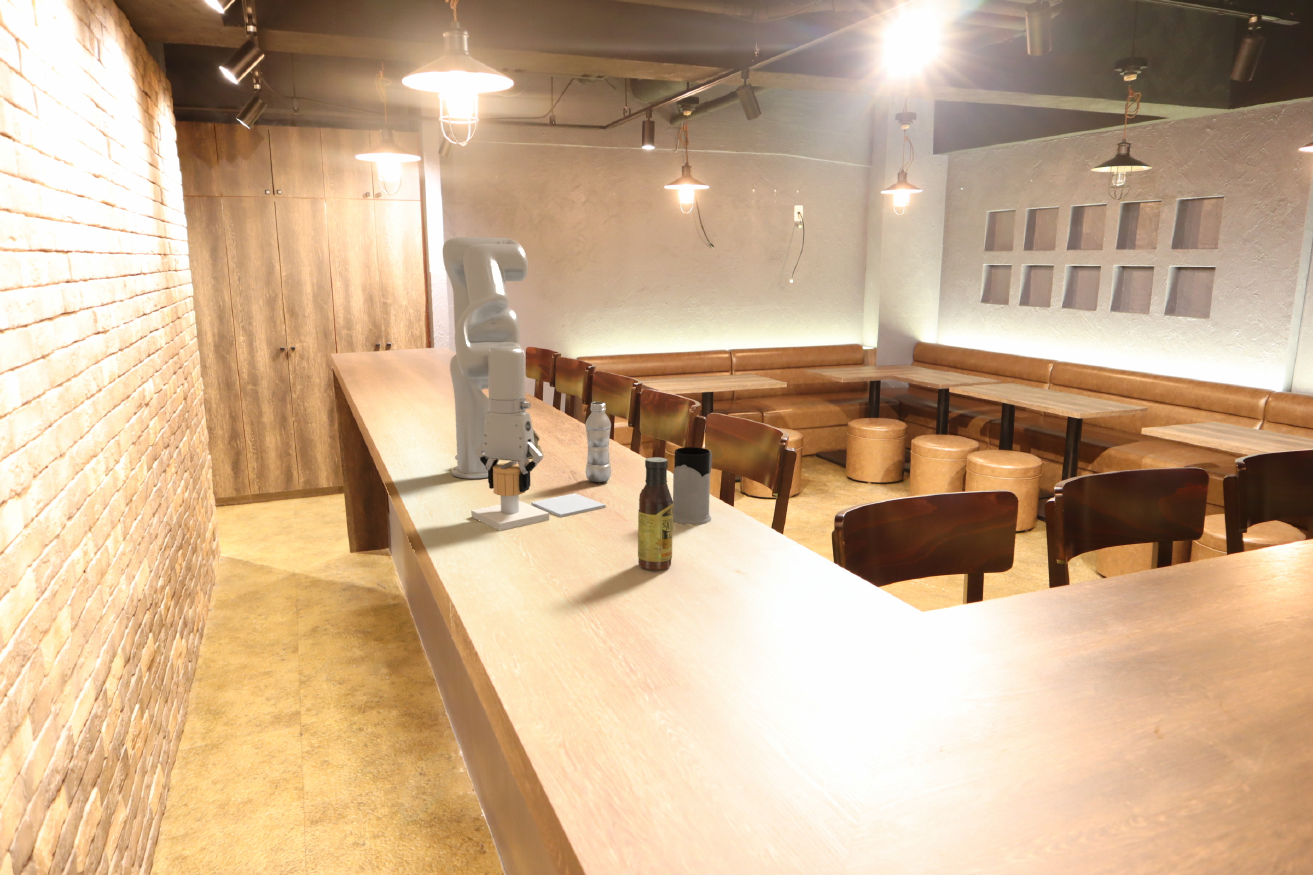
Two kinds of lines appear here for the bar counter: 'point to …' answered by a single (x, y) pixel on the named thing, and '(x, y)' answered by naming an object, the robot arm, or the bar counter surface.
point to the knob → (506, 479)
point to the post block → (510, 514)
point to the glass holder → (691, 485)
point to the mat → (568, 505)
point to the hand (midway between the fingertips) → (509, 488)
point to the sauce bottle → (655, 518)
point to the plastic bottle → (598, 444)
